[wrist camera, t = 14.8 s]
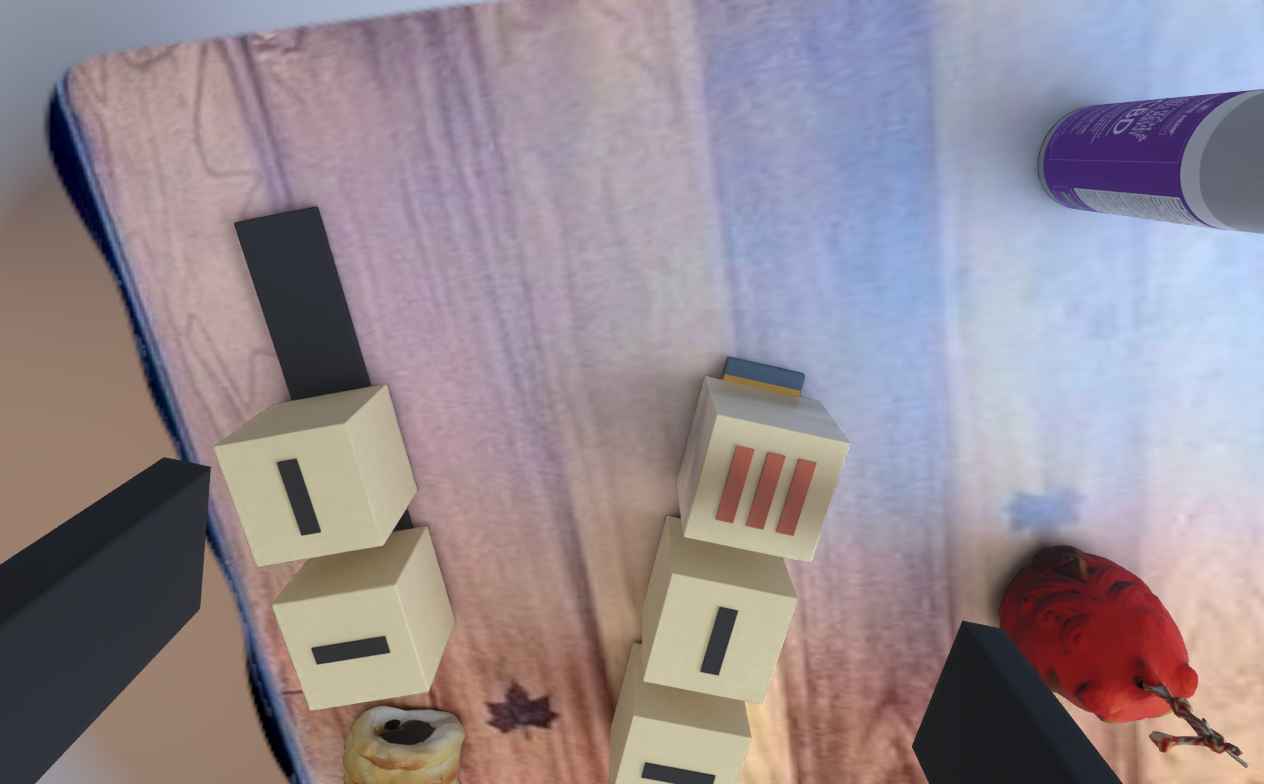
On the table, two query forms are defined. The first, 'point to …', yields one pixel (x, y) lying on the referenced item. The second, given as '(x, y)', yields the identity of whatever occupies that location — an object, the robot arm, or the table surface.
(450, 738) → the pastry
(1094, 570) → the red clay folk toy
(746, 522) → the red striped cream cube
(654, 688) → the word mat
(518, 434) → the table surface
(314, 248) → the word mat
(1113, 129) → the container
